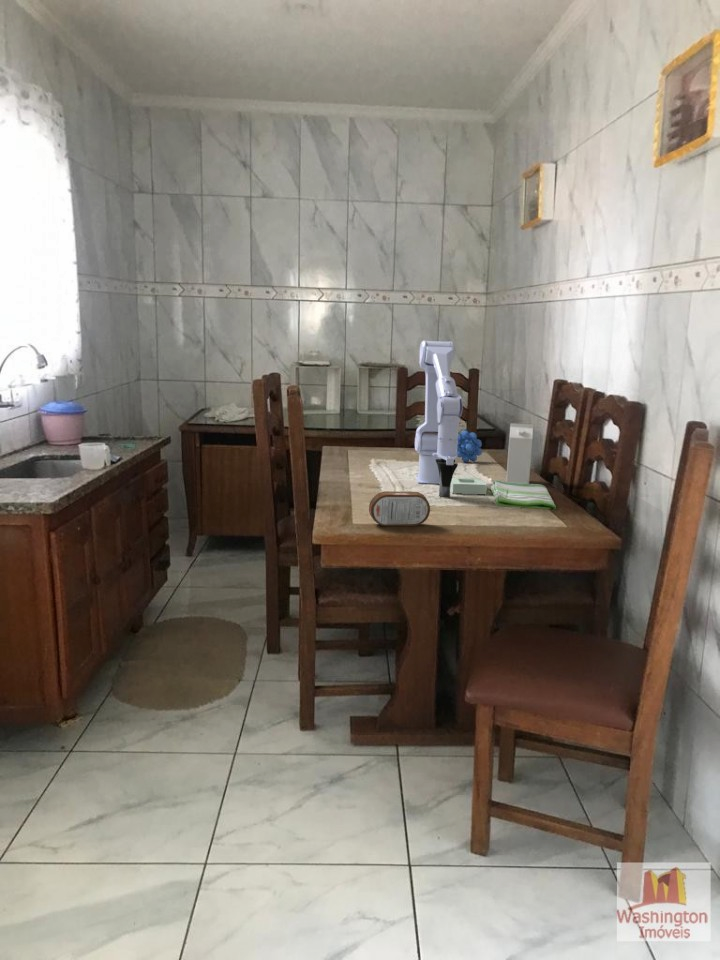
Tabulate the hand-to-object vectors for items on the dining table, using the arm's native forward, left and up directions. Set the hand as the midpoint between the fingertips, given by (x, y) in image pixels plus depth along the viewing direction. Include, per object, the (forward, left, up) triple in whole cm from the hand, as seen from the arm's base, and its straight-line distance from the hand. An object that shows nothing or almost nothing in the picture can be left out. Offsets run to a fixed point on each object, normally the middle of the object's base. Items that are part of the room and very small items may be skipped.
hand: (445, 485), depth 211 cm
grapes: (-57, +16, -4) cm, 59 cm away
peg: (0, 0, -3) cm, 3 cm away
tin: (+33, -16, -4) cm, 37 cm away
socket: (-9, +8, -3) cm, 13 cm away
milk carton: (-24, +27, -4) cm, 36 cm away
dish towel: (-1, +23, -4) cm, 23 cm away
